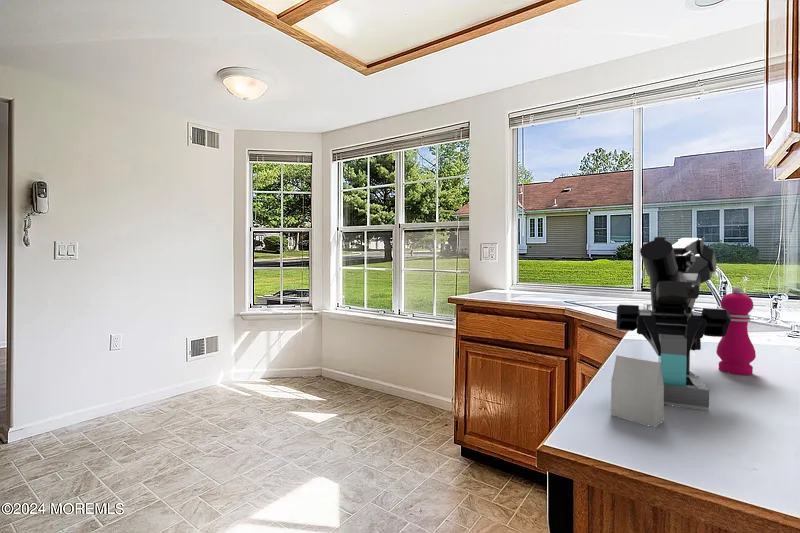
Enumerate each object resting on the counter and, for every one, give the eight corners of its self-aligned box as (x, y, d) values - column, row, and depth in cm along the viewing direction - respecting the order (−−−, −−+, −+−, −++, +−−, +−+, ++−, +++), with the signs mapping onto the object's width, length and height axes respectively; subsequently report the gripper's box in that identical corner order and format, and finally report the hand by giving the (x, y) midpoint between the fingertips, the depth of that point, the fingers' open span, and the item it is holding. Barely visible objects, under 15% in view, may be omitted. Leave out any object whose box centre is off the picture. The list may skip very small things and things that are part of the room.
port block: (639, 387, 87) (639, 369, 87) (697, 394, 83) (698, 375, 83) (643, 402, 78) (643, 382, 78) (709, 410, 74) (709, 390, 74)
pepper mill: (747, 369, 102) (748, 285, 101) (761, 377, 95) (763, 288, 94) (711, 366, 104) (713, 285, 104) (722, 374, 97) (724, 287, 97)
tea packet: (654, 427, 67) (655, 364, 67) (610, 415, 72) (611, 356, 72) (663, 421, 69) (664, 360, 69) (620, 410, 75) (621, 353, 74)
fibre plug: (658, 384, 83) (658, 333, 83) (682, 387, 82) (683, 335, 81) (660, 390, 80) (661, 337, 80) (685, 393, 78) (686, 339, 78)
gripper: (617, 265, 88) (618, 326, 78) (729, 266, 80) (745, 335, 70) (616, 299, 95) (616, 359, 85) (718, 303, 87) (731, 370, 77)
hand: (673, 356), depth 79 cm, fingers closed on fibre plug, 4 cm apart
